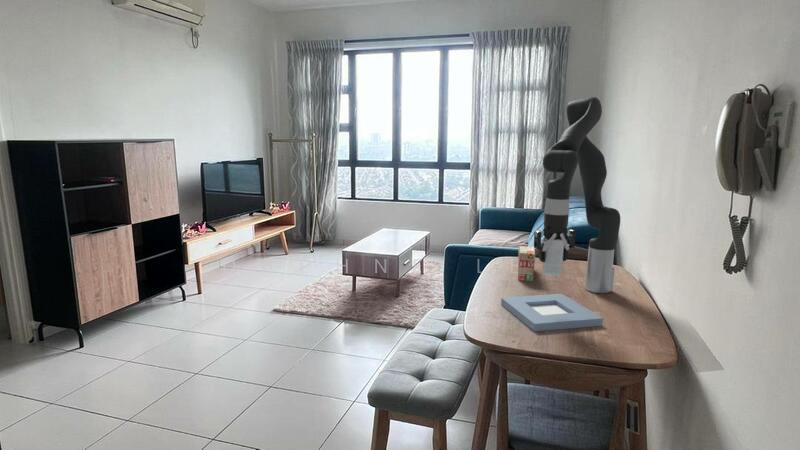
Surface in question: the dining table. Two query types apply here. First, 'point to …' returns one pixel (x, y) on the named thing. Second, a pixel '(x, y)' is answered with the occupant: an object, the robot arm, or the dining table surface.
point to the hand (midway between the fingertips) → (552, 260)
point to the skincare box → (554, 258)
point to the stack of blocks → (526, 263)
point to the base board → (550, 312)
